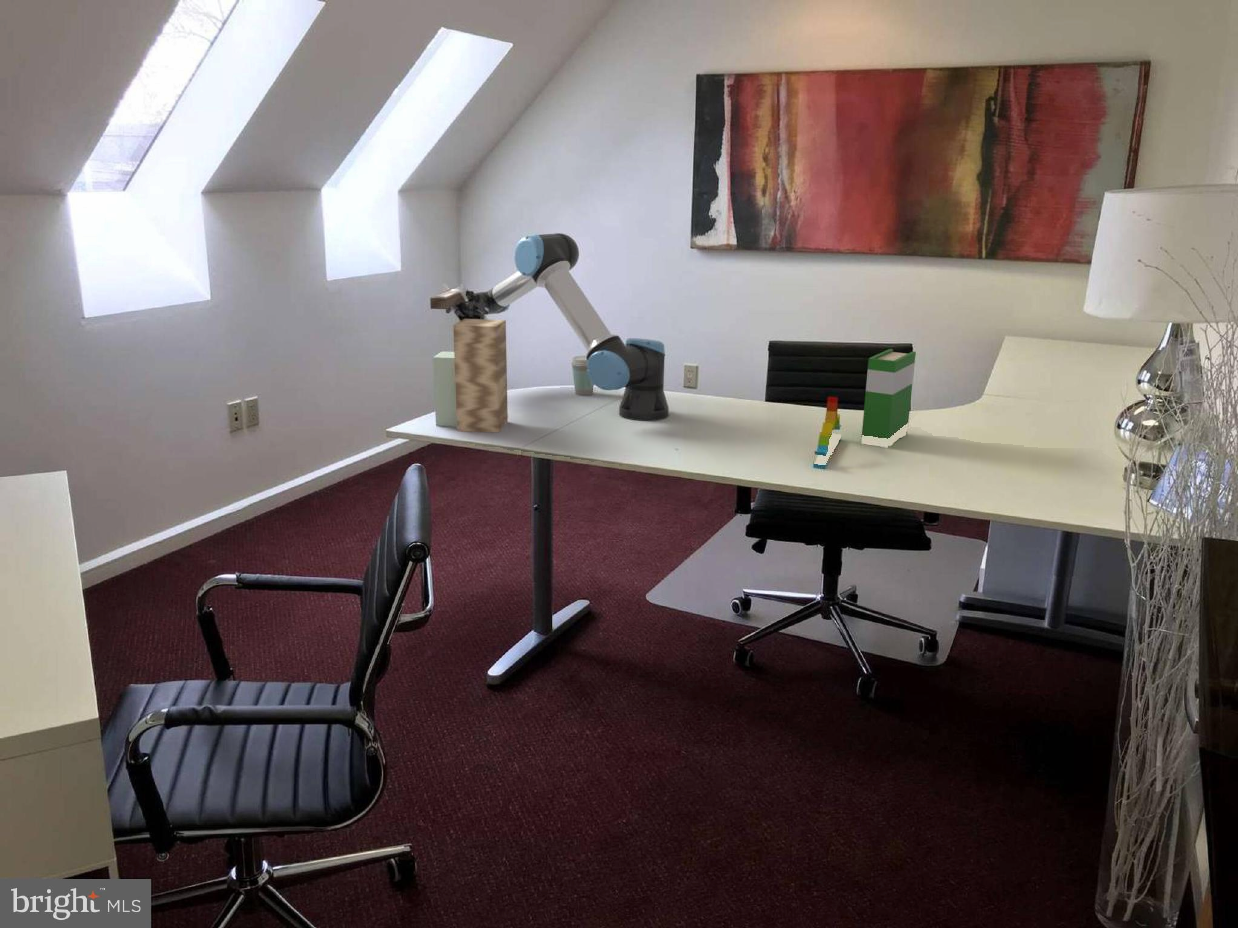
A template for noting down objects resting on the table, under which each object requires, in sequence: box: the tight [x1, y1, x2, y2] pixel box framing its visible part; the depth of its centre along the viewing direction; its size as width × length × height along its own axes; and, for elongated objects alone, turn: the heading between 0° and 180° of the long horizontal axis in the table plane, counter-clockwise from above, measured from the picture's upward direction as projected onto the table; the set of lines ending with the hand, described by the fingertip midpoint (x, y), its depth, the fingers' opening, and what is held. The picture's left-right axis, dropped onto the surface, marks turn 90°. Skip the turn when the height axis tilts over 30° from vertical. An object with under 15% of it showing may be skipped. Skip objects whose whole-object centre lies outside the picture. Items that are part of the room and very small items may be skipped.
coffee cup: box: [571, 355, 595, 396], centre depth 318 cm, size 8×9×12 cm
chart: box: [812, 396, 842, 470], centre depth 255 cm, size 30×3×15 cm, turn 160°
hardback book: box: [861, 348, 917, 439], centre depth 268 cm, size 18×7×24 cm, turn 147°
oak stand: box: [452, 318, 509, 433], centre depth 274 cm, size 12×12×30 cm
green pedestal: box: [432, 351, 457, 427], centre depth 279 cm, size 7×9×20 cm
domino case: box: [429, 288, 469, 310], centre depth 277 cm, size 4×22×3 cm, turn 173°
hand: (452, 287), depth 279 cm, fingers closed on domino case, 4 cm apart
